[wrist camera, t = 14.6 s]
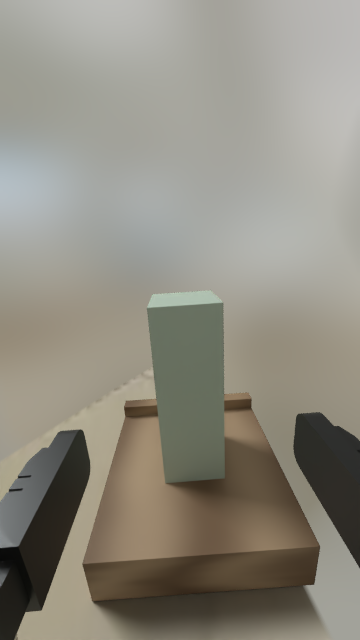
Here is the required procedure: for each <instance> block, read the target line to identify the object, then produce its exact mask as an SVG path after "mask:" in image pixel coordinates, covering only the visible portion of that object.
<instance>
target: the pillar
mask: <svg viewBox="0 0 360 640" xmlns="http://www.w3.org/2000/svg"><path fill="white" fill-rule="evenodd" d="M147 312H148V322H149V331H150V341H151V350H152V360H153V370H154V380H155V390H156V399H157V409H158V419H159V429H160V438H161V448H162V458H163V467H164V477H165V483H175V482H186V481H198V480H210V479H222V478H225V436H224V340H223V339H224V336H223V335H224V332H223V302H222V301H221V300H220V299H219V298H218V297H217V296H216V295H215V294H214V293H213V292H212V291H196V292H181V293H167V294H153V295H152V297H151V300H150V302H149V304H148V307H147Z"/></svg>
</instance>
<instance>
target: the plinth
mask: <svg viewBox="0 0 360 640" xmlns="http://www.w3.org/2000/svg"><path fill="white" fill-rule="evenodd" d="M124 410H125V420H124V423H123V427H122V430H121V433H120V437H119V440H118V444H117V447H116V451H115V454H114V457H113V461H112V464H111V468H110V471H109V475H108V478H107V482H106V485H105V488H104V492H103V495H102V499H101V502H100V506H99V509H98V512H97V516H96V519H95V523H94V526H93V530H92V533H91V536H90V540H89V543H88V547H87V550H86V554H85V557H84V560H83V568H84V572H85V575H86V579H87V583H88V587H89V590H90V594H91V598H92V601H102V600H115V599H128V598H142V597H155V596H168V595H182V594H195V593H208V592H221V591H235V590H248V589H261V588H275V587H288V586H301V585H314V582H315V576H316V570H317V563H318V557H319V550H320V545H319V543H318V542H317V539H316V537H315V535H314V533H313V531H312V529H311V527H310V525H309V523H308V521H307V519H306V517H305V515H304V513H303V511H302V509H301V507H300V505H299V503H298V501H297V499H296V497H295V495H294V493H293V491H292V489H291V487H290V485H289V483H288V481H287V479H286V477H285V475H284V473H283V471H282V469H281V467H280V465H279V463H278V461H277V459H276V457H275V455H274V453H273V451H272V449H271V447H270V445H269V442H268V440H267V439H266V436H265V434H264V432H263V430H262V428H261V426H260V425H259V422H258V420H257V418H256V416H255V414H254V412H253V411H252V408H251V397H250V395H249V393H236V394H224V436H225V478H222V479H210V480H198V481H186V482H175V483H165V477H164V467H163V458H162V448H161V438H160V429H159V419H158V409H157V399H147V400H133V401H126V403H125V406H124Z"/></svg>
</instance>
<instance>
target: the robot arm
mask: <svg viewBox="0 0 360 640" xmlns="http://www.w3.org/2000/svg"><path fill="white" fill-rule="evenodd" d="M294 455H295V458H296V461H297V463H298V465H299V467H300V469H301V470H302V472H303V474H304V475H305V477H306V479H307V481H308V482H309V484H310V486H311V487H312V489H313V491H314V492H315V494H316V496H317V497H318V499H319V501H320V502H321V504H322V506H323V507H324V509H325V511H326V512H327V514H328V516H329V517H330V519H331V521H332V522H333V524H334V525H335V527H336V529H337V531H338V532H339V534H340V536H341V537H342V539H343V541H344V542H345V544H346V546H347V547H348V549H349V551H350V553H351V554H352V556H353V558H354V559H355V561H356V563H357V564H358V566H359V568H360V441H359V440H358V439H357V438H356V437H355V436H354V435H352V434H350V433H349V432H347V431H346V430H344V429H342V428H341V427H339V426H333V425H332V424H331V423H330V421H329V420H328V419H327V418H326V417H325V416H324V415H323V414H322V413H320V412H316V413H303V414H298V415H297V417H296V425H295V436H294ZM89 475H90V459H89V455H88V450H87V445H86V440H85V436H84V432H83V430H68V431H60V432H59V433H58V434H57V435H56V437H55V438H54V440H53V441H52V443H51V445H50V446H49V448H42V449H41V450H40V451H39V452H38V453H37V454H36V455H34V456H33V457H32V458H31V459H30V460H29V461H28V462H27V464H26V465H25V467H24V468H23V470H22V471H21V472H20V474H19V475H18V479H16V480H15V481H14V483H13V484H12V486H11V487H10V489H9V492H8V493H6V495H5V496H4V497H3V499H2V500H1V502H0V640H18V637H17V631H18V629H19V626H20V624H21V621H22V619H23V616H24V614H25V612H30V611H41V610H42V608H43V605H44V602H45V600H46V597H47V594H48V591H49V589H50V586H51V583H52V580H53V577H54V575H55V572H56V569H57V566H58V564H59V561H60V558H61V555H62V552H63V550H64V547H65V544H66V541H67V538H68V536H69V533H70V530H71V527H72V525H73V522H74V519H75V516H76V513H77V511H78V508H79V505H80V502H81V500H82V497H83V494H84V491H85V488H86V486H87V483H88V480H89Z"/></svg>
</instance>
